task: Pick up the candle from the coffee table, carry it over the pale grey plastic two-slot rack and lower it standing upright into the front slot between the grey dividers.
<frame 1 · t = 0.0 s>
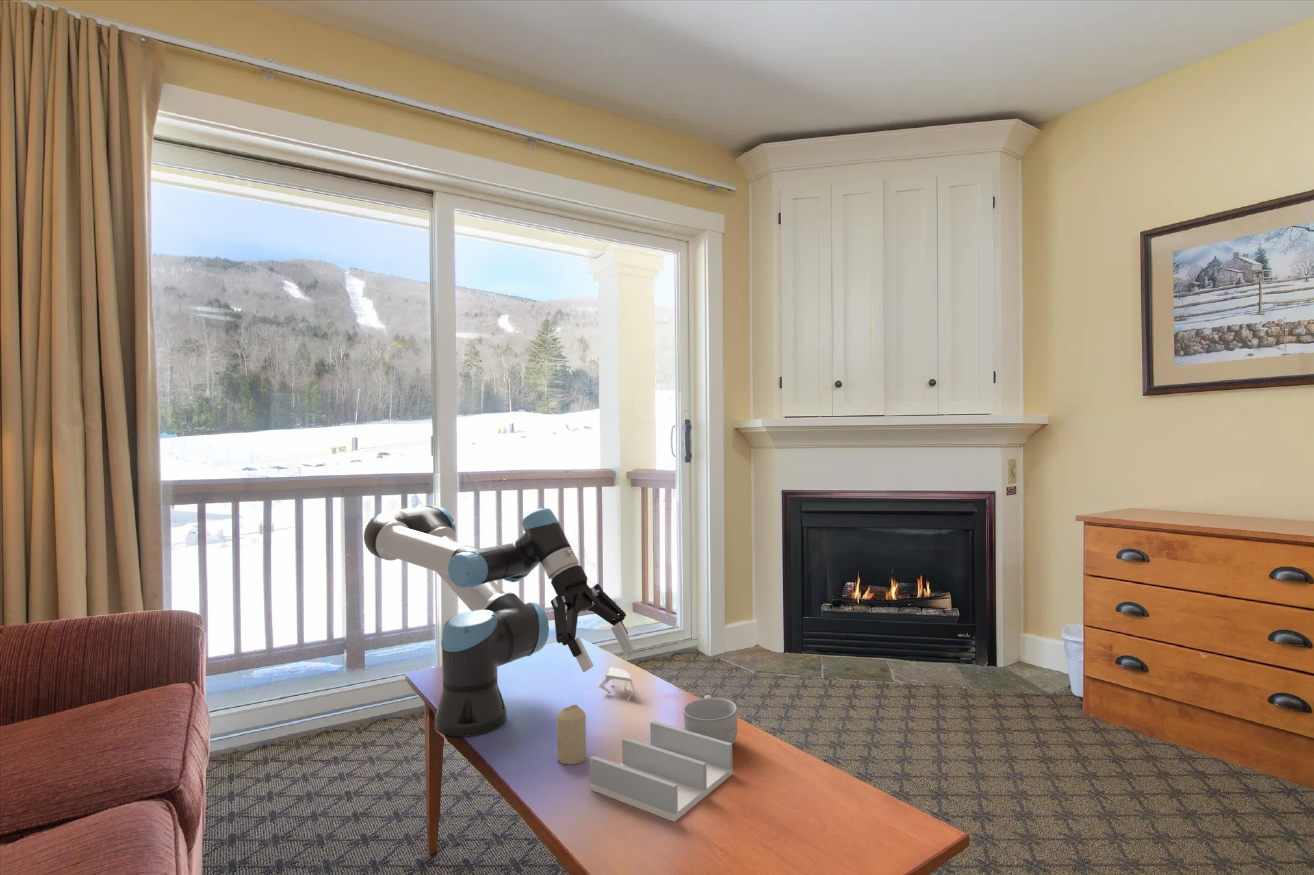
hand: (610, 660, 147), 15 cm above the table, tool tilted 35°, fingers open, 13 cm apart
teacup: (711, 743, 142), on the table
slot rack: (663, 781, 126), on the table
origami figure: (619, 695, 169), on the table
candle: (571, 759, 136), on the table
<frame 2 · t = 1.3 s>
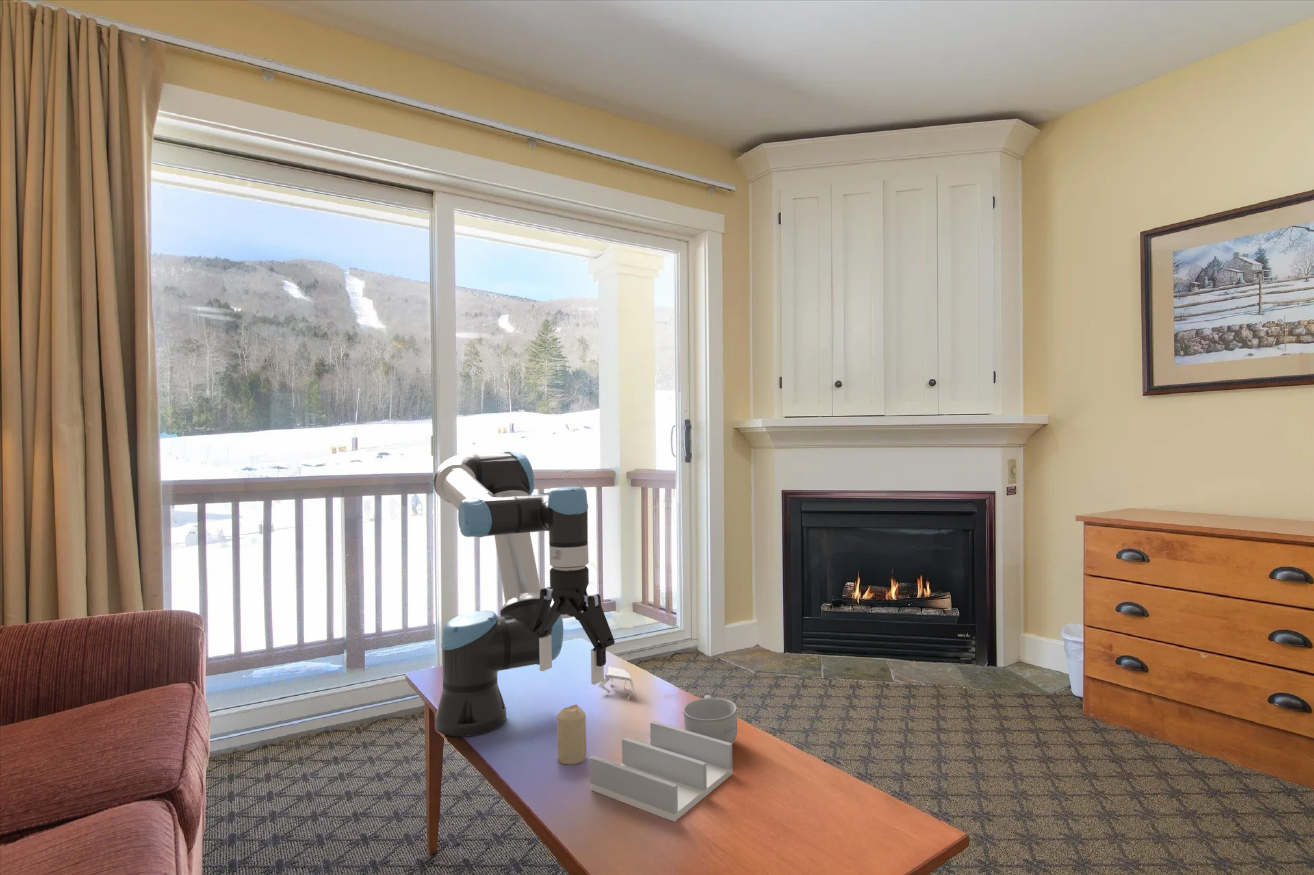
hand: (571, 675, 136), 16 cm above the table, tool pointing down, fingers open, 13 cm apart
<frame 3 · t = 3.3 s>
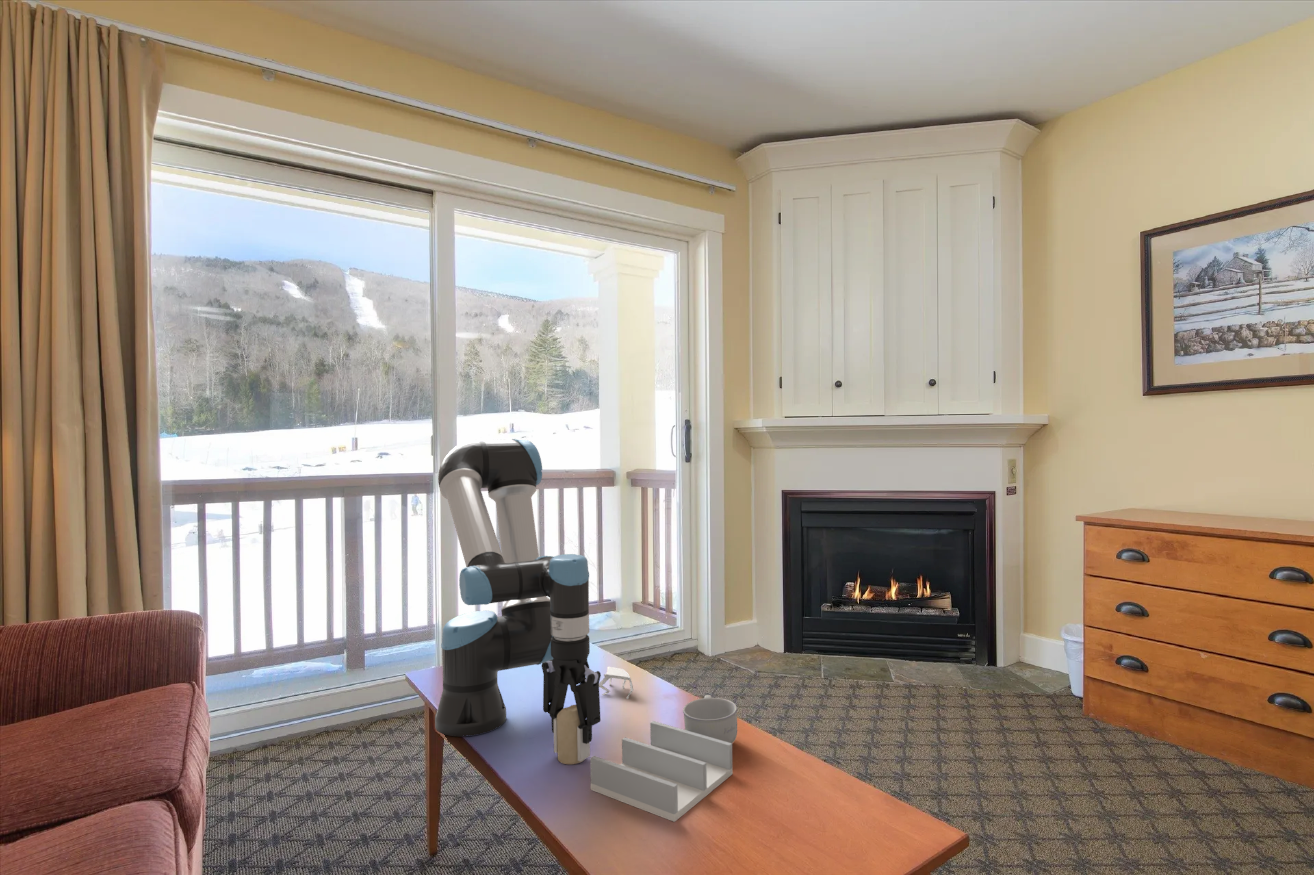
hand: (571, 754, 136), 1 cm above the table, tool pointing down, fingers closed on candle, 5 cm apart
candle: (571, 759, 136), on the table, touching gripper
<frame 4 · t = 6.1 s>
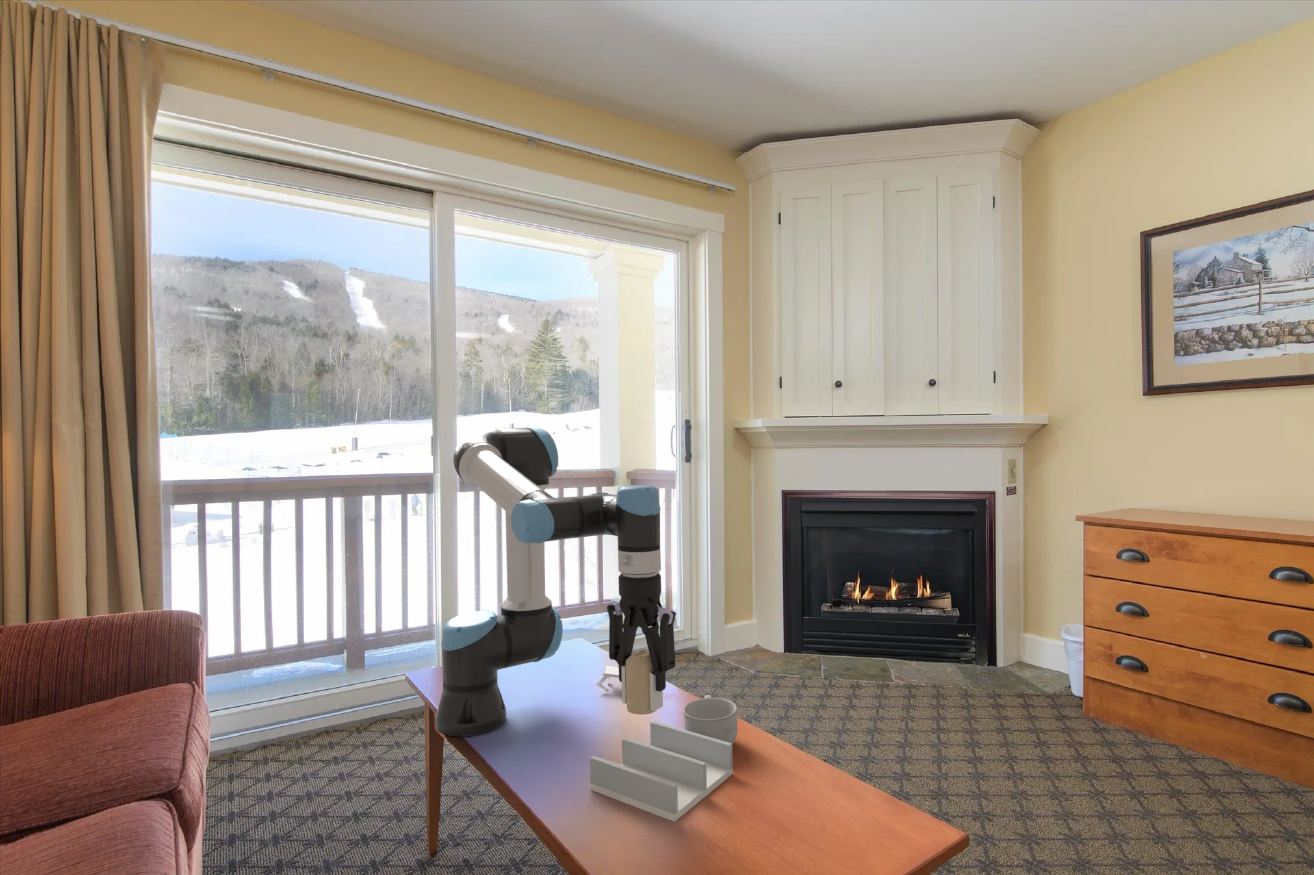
hand: (642, 704, 123), 15 cm above the table, tool pointing down, fingers closed on candle, 5 cm apart
candle: (642, 710, 123), point 14 cm above the table, touching gripper
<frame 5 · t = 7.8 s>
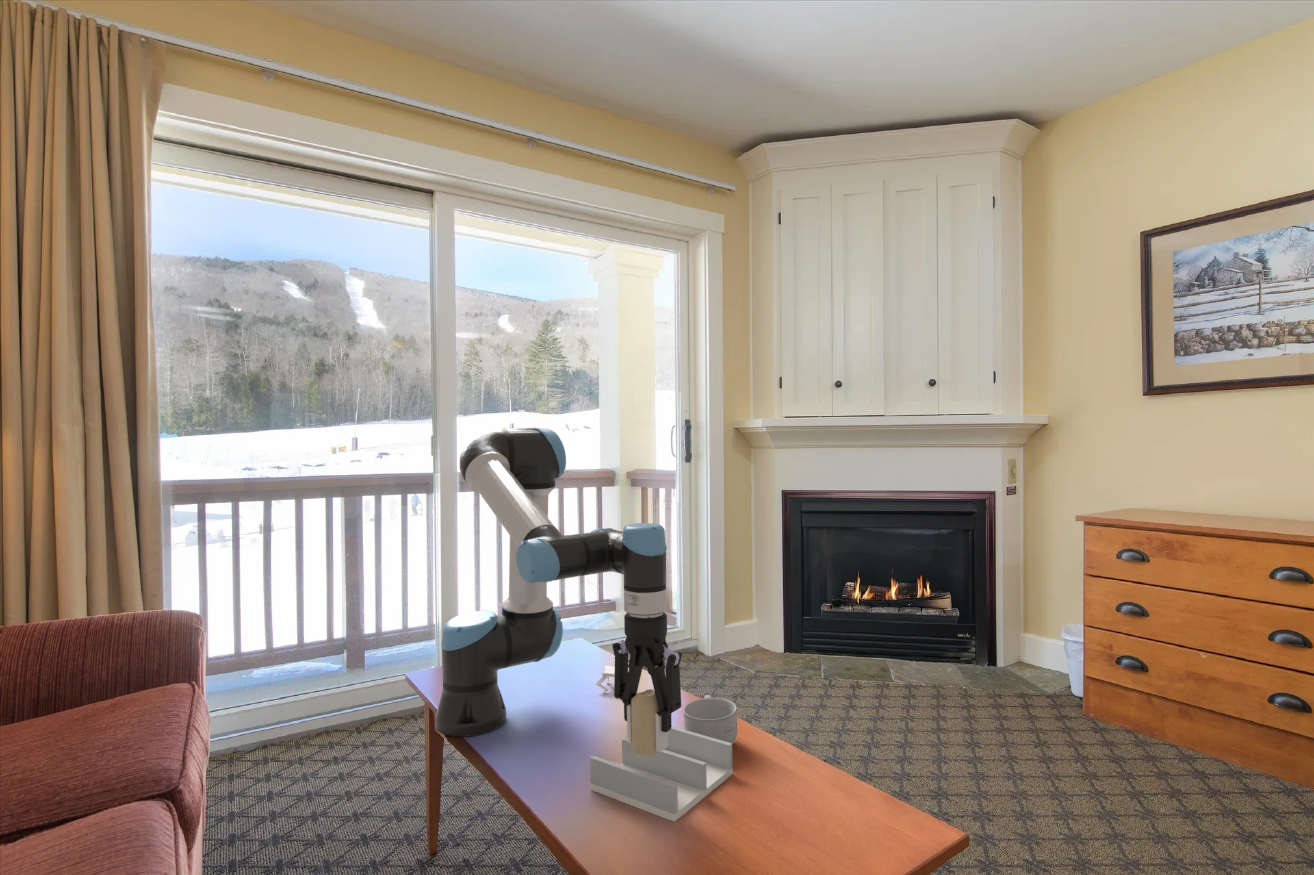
hand: (647, 744, 122), 9 cm above the table, tool pointing down, fingers closed on candle, 5 cm apart
candle: (647, 749, 122), point 8 cm above the table, touching gripper
when the fingers open (3 cm above the table, at t = 9.3 s): candle drops 1 cm, resting on slot rack.
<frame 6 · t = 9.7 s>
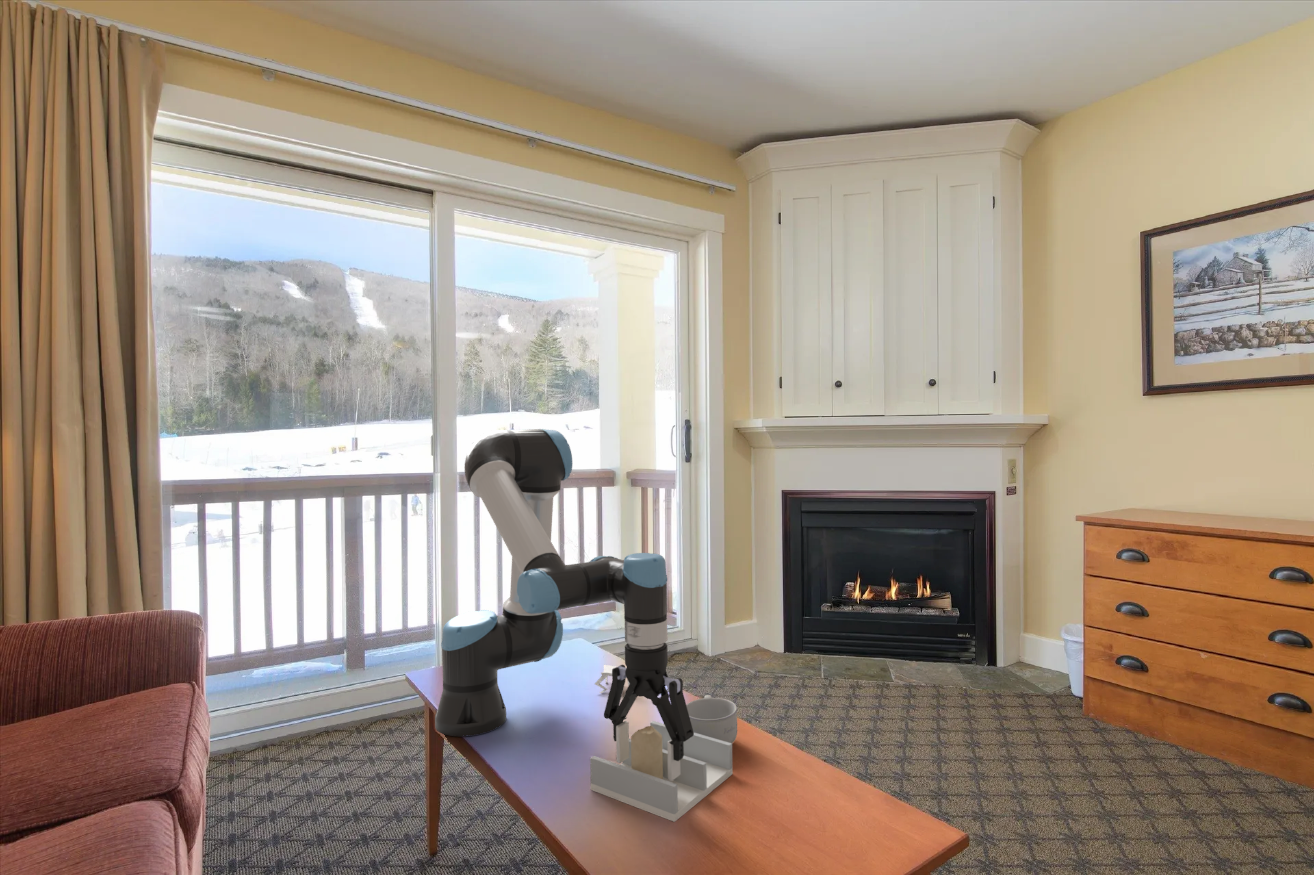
hand: (647, 768, 123), 4 cm above the table, tool pointing down, fingers open, 10 cm apart
candle: (647, 786, 123), point 1 cm above the table, touching slot rack
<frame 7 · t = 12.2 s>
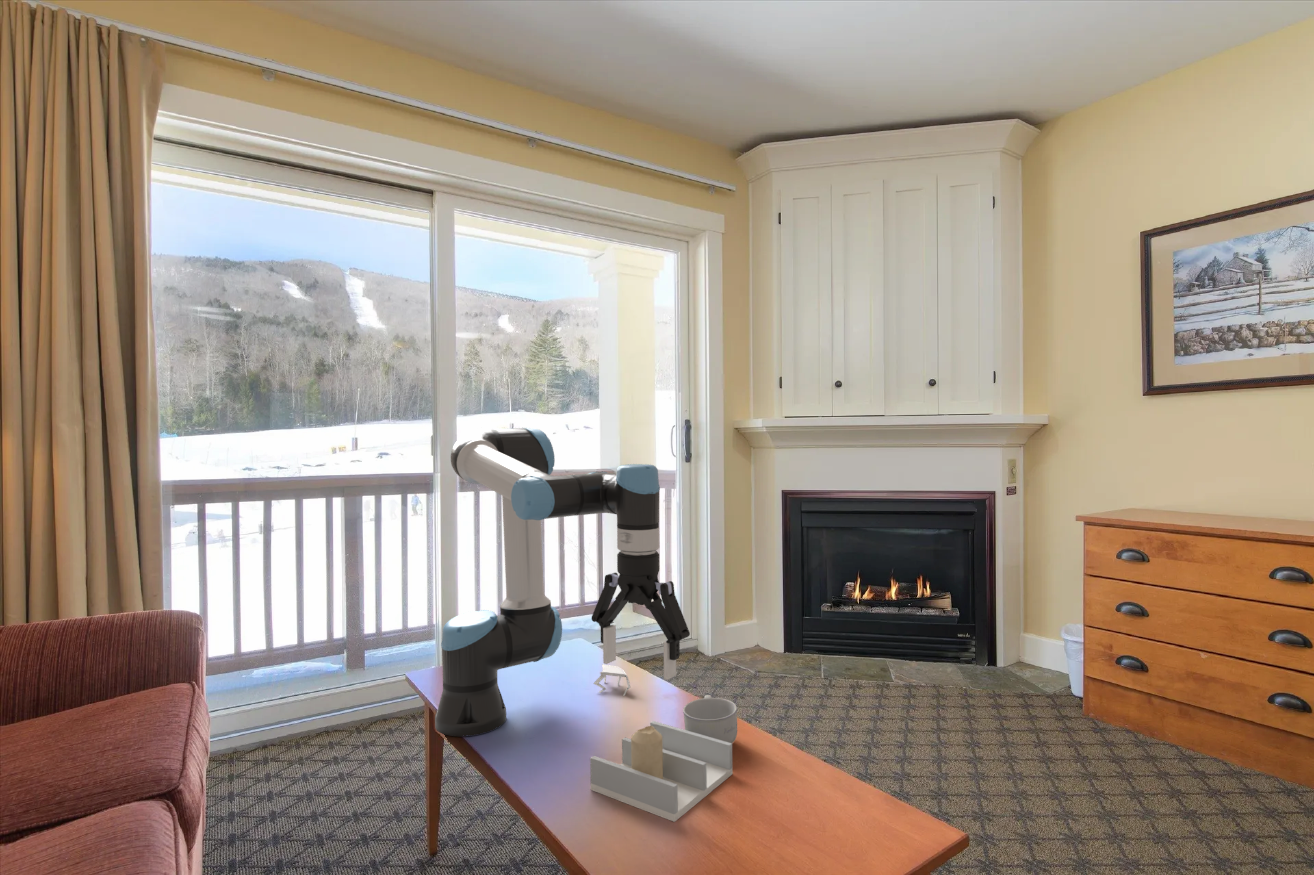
hand: (638, 669, 125), 21 cm above the table, tool pointing down, fingers open, 13 cm apart
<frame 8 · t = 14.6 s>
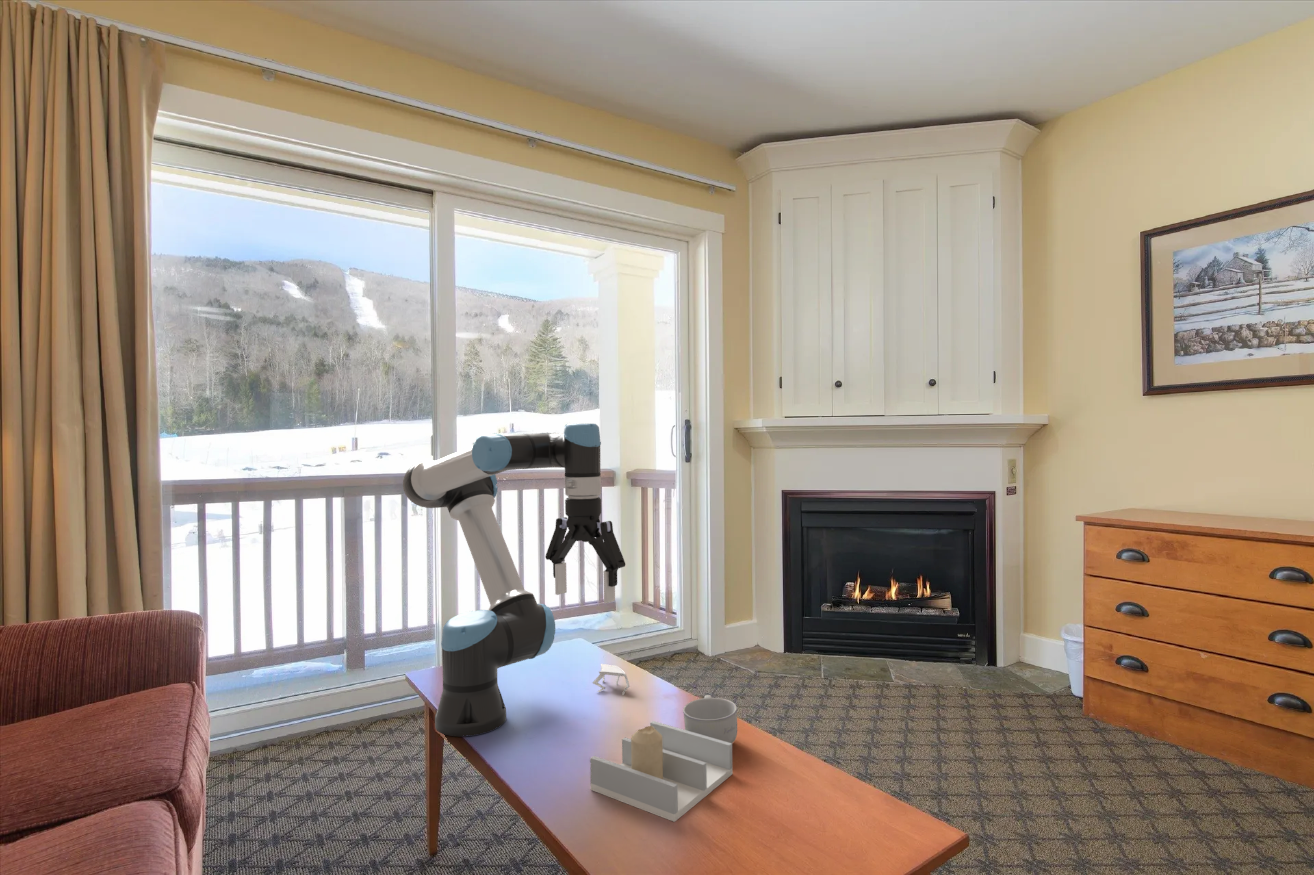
hand: (584, 597, 147), 29 cm above the table, tool pointing down, fingers open, 13 cm apart
at the end: candle inside the target area on the slot rack (0.1 cm from its centre), point 1.0 cm above the slot rack's base; candle tilted 0°; the gripper is holding nothing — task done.
